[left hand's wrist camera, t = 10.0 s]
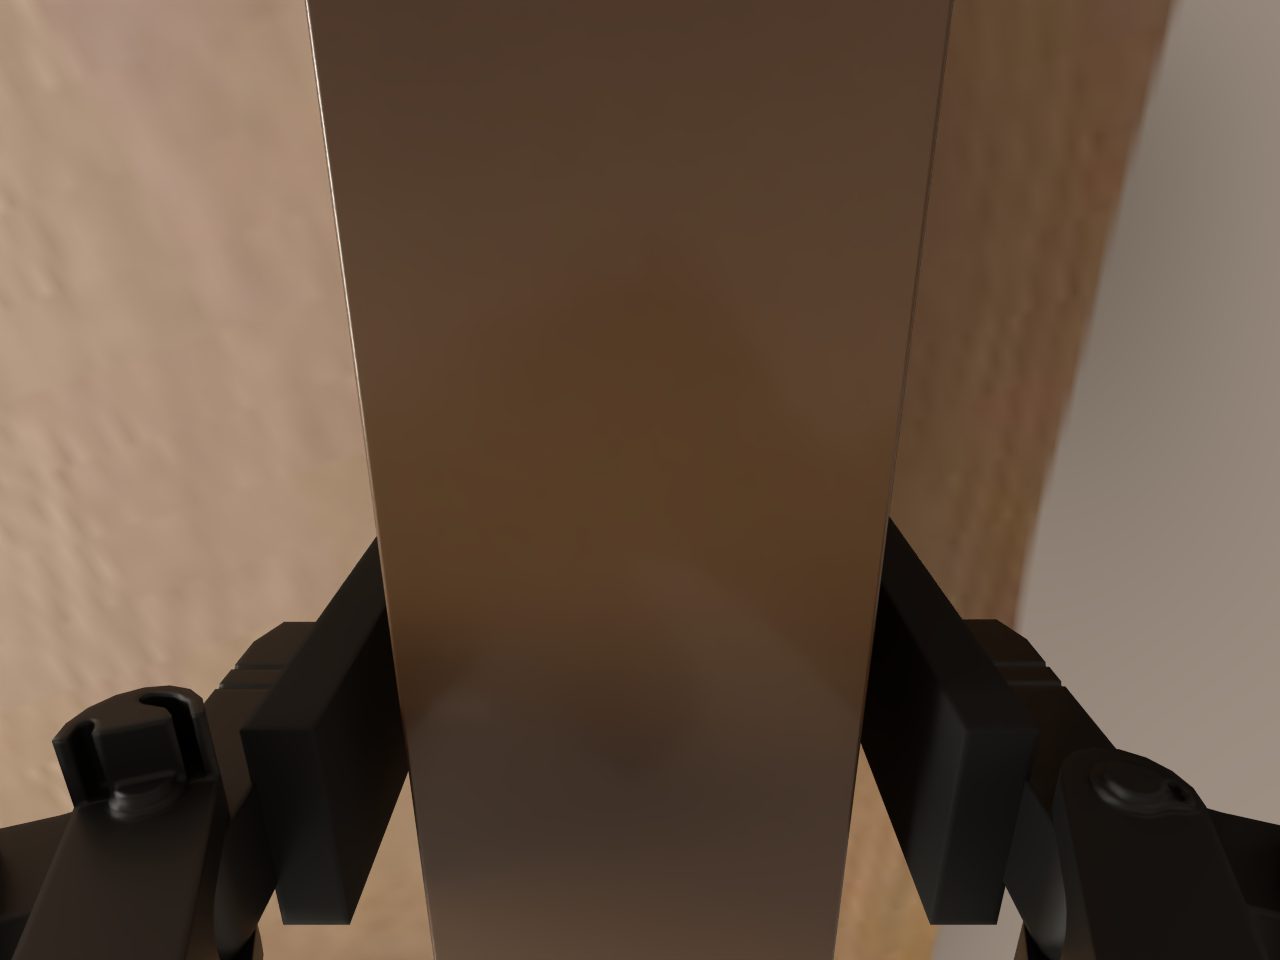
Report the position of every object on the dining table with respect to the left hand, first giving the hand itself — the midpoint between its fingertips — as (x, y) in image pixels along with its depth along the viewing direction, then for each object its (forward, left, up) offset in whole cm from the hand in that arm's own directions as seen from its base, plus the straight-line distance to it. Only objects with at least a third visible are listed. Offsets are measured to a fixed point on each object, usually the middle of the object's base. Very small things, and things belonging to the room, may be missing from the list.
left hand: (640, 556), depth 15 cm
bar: (+26, +6, -3) cm, 27 cm away
